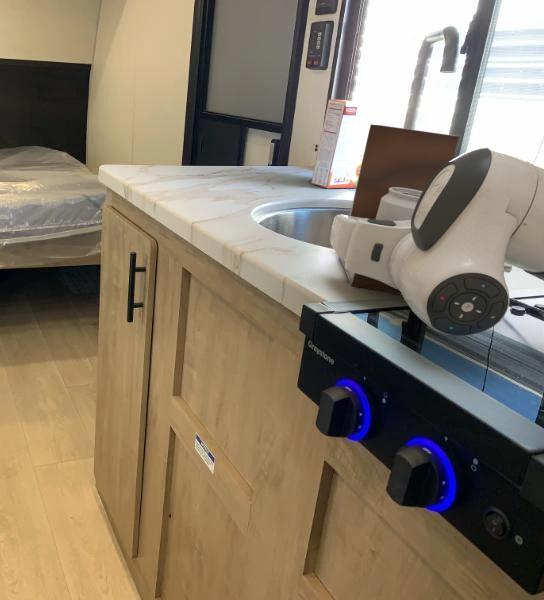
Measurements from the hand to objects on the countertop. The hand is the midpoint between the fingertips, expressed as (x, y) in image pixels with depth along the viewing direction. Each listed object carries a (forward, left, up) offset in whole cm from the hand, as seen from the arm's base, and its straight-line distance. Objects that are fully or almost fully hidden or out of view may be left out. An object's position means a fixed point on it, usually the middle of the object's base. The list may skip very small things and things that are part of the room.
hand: (400, 229), depth 84 cm
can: (0, +1, -7) cm, 7 cm away
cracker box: (-1, -74, -7) cm, 74 cm away
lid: (0, -7, +6) cm, 9 cm away
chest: (0, +1, -7) cm, 7 cm away
